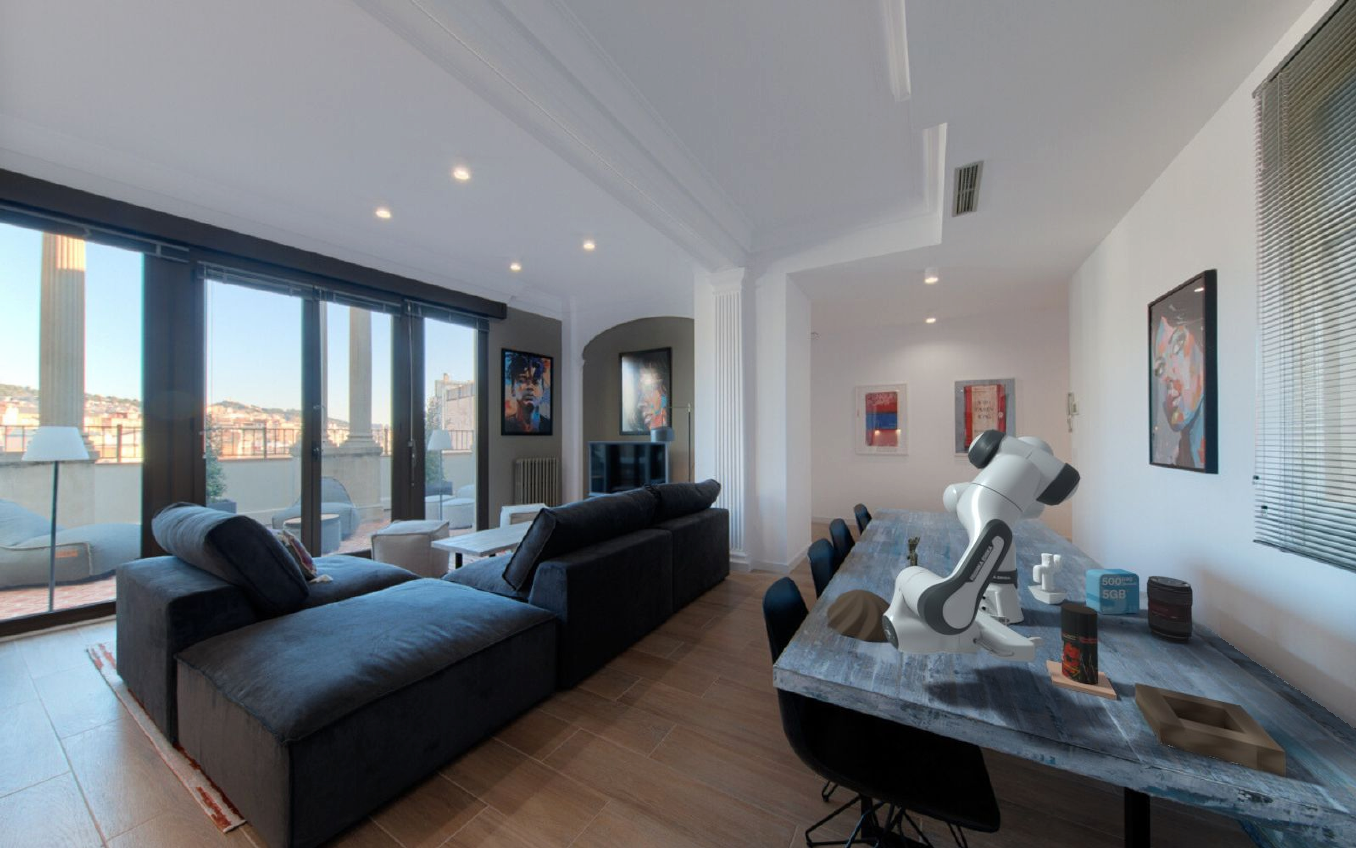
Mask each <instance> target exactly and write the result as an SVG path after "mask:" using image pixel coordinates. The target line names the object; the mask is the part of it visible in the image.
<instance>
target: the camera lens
mask: <svg viewBox="0 0 1356 848" xmlns="http://www.w3.org/2000/svg"><path fill="white" fill-rule="evenodd" d="M1146 594H1147V595H1146V596H1147V622H1148V627H1149V628H1150V631H1151V635H1152V636H1153V637H1156V638H1157V639H1160V640H1163V641H1166V642H1171V643H1175V644H1189V643H1190V639H1191V637H1192V635H1193V634H1192V633H1193V613H1192V612H1193V610H1192V609H1193V601H1194V600H1193V598H1194V597H1193V589H1192V585H1191V583H1189V582H1188V581H1185V580H1181V579H1178V578H1174V577H1168V576H1162V575H1161V576H1160V575H1151V576H1148V579H1147V581H1146Z"/></svg>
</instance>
